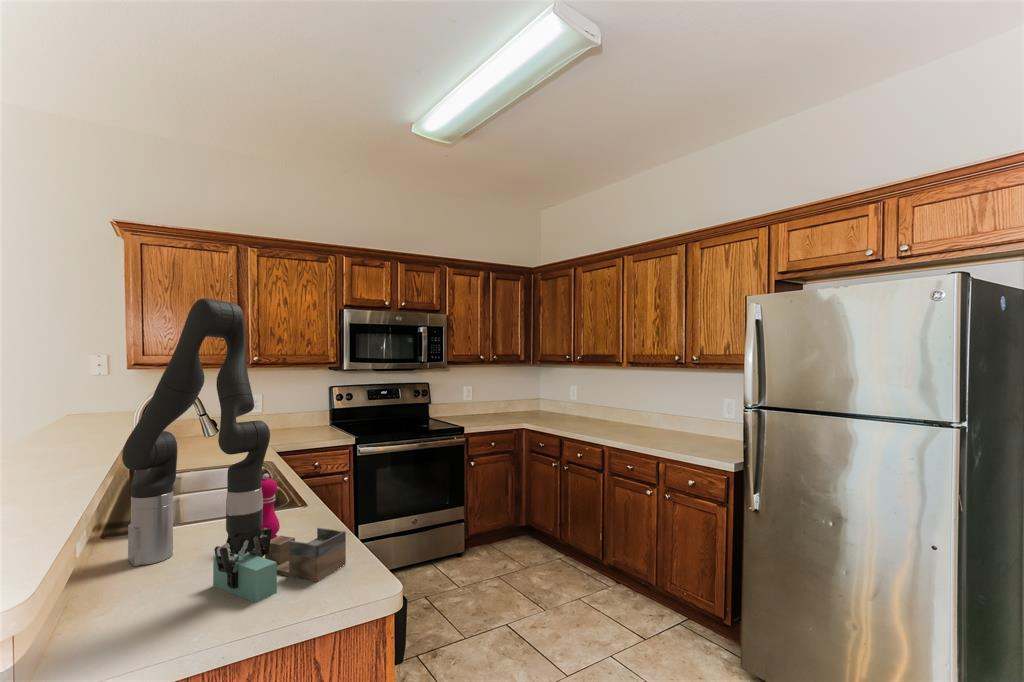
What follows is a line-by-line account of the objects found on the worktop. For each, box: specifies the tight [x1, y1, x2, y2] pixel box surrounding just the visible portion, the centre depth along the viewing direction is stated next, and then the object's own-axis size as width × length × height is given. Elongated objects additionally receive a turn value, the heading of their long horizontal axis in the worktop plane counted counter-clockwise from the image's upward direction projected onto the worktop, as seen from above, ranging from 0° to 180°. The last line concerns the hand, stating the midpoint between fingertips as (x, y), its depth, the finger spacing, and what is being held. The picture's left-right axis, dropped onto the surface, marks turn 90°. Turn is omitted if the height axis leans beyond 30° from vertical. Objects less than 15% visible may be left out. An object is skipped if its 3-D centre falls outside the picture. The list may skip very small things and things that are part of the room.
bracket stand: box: [264, 527, 347, 583], centre depth 129 cm, size 21×10×8 cm, turn 69°
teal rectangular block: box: [212, 552, 278, 603], centre depth 117 cm, size 16×5×7 cm, turn 61°
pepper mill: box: [258, 472, 281, 549], centre depth 145 cm, size 7×7×20 cm
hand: (244, 581), depth 117 cm, fingers closed on teal rectangular block, 5 cm apart
